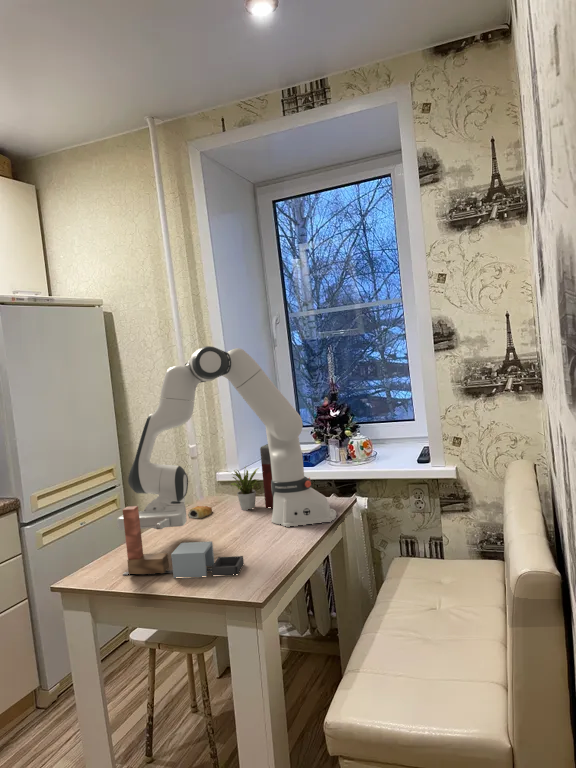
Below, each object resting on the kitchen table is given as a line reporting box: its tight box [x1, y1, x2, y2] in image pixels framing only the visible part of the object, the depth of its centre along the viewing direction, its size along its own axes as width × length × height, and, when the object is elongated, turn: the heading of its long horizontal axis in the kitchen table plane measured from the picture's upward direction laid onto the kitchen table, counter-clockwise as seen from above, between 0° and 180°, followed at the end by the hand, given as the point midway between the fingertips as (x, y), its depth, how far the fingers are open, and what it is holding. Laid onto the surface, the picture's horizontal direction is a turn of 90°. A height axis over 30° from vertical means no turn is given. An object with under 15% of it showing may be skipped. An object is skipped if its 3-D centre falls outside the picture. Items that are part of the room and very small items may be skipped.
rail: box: [122, 568, 212, 576], centre depth 166 cm, size 26×1×1 cm, turn 82°
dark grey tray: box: [210, 555, 245, 577], centre depth 164 cm, size 7×8×2 cm
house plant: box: [224, 466, 260, 511], centre depth 225 cm, size 14×14×16 cm
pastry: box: [187, 505, 213, 520], centre depth 222 cm, size 9×7×4 cm
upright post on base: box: [122, 505, 170, 576], centre depth 166 cm, size 10×4×18 cm, turn 82°
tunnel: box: [170, 540, 215, 579], centre depth 165 cm, size 9×9×7 cm
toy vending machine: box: [259, 443, 273, 509], centre depth 225 cm, size 9×11×28 cm
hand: (143, 527), depth 172 cm, fingers open, 8 cm apart
